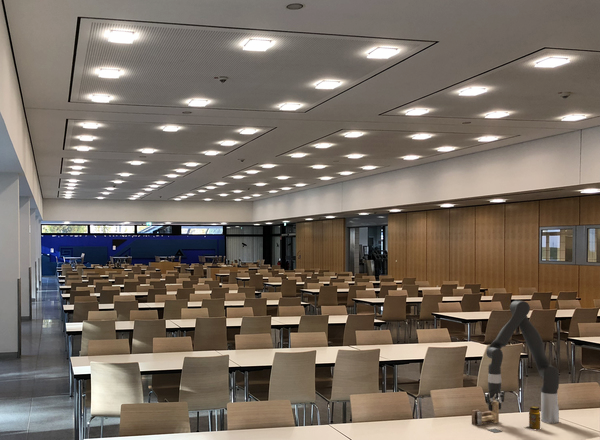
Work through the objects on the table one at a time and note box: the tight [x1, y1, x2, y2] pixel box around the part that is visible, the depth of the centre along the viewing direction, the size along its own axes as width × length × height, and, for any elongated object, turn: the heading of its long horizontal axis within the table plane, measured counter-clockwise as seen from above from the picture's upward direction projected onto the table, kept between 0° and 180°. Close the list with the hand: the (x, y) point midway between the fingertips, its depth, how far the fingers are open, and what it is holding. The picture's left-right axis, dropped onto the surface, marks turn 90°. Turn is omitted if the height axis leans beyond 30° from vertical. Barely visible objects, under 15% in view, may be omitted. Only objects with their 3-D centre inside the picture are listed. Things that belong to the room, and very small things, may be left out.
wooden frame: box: [477, 400, 500, 426], centre depth 370 cm, size 15×3×12 cm, turn 118°
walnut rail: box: [471, 409, 492, 426], centre depth 373 cm, size 18×2×8 cm, turn 118°
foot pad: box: [487, 428, 503, 434], centre depth 356 cm, size 6×6×1 cm
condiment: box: [523, 405, 544, 431], centre depth 362 cm, size 7×8×12 cm
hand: (494, 409), depth 373 cm, fingers open, 6 cm apart
